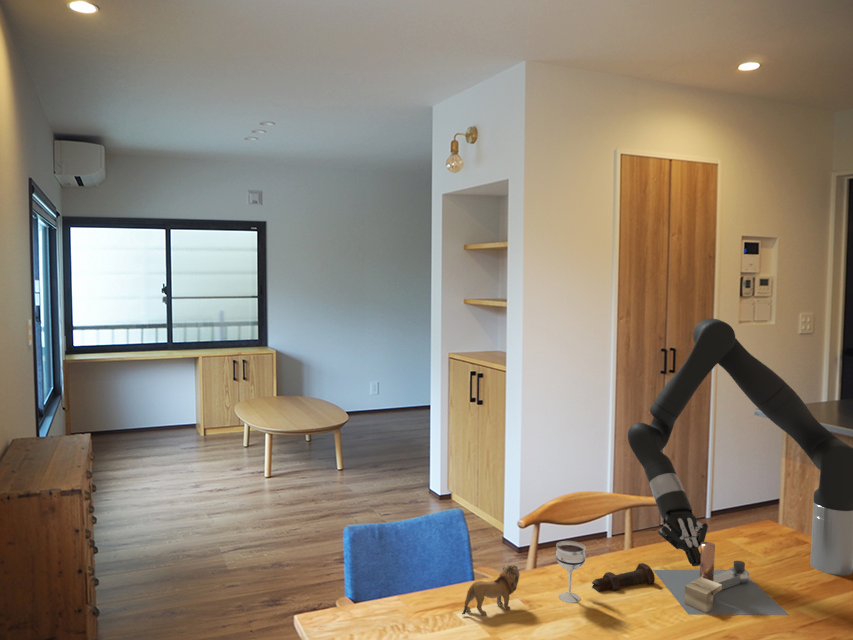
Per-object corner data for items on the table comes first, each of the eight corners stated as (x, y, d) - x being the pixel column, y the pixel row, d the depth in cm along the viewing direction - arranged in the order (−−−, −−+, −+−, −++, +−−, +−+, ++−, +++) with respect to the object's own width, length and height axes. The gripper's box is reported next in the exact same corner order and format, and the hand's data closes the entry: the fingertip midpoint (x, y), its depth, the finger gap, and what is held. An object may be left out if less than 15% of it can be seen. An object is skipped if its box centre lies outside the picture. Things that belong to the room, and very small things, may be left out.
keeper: (699, 594, 155) (700, 576, 155) (721, 602, 152) (722, 584, 151) (684, 603, 151) (684, 585, 151) (705, 612, 147) (706, 594, 147)
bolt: (592, 601, 158) (645, 589, 164) (604, 599, 154) (658, 587, 159) (585, 575, 161) (638, 564, 166) (596, 572, 156) (650, 561, 162)
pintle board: (652, 574, 168) (653, 552, 168) (740, 574, 169) (741, 552, 168) (688, 619, 146) (689, 594, 146) (789, 619, 147) (790, 594, 146)
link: (736, 573, 166) (738, 529, 165) (752, 581, 162) (754, 536, 161) (686, 590, 157) (688, 544, 156) (702, 598, 153) (704, 551, 152)
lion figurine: (510, 596, 156) (510, 558, 155) (524, 606, 151) (525, 567, 151) (455, 611, 149) (456, 571, 148) (469, 622, 144) (470, 581, 143)
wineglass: (587, 594, 157) (588, 543, 157) (581, 607, 151) (582, 554, 150) (558, 588, 160) (559, 538, 159) (551, 600, 154) (552, 549, 153)
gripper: (653, 490, 164) (680, 561, 154) (700, 487, 168) (730, 556, 157) (639, 504, 170) (665, 573, 159) (685, 501, 173) (713, 568, 162)
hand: (697, 565), depth 158 cm, fingers closed
